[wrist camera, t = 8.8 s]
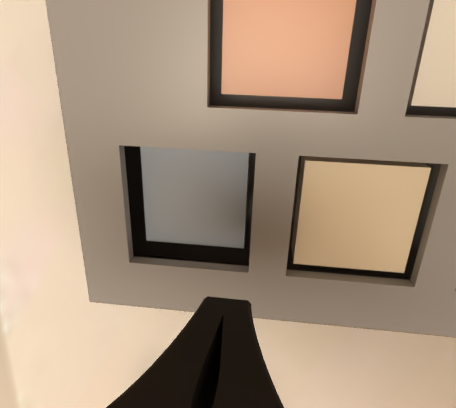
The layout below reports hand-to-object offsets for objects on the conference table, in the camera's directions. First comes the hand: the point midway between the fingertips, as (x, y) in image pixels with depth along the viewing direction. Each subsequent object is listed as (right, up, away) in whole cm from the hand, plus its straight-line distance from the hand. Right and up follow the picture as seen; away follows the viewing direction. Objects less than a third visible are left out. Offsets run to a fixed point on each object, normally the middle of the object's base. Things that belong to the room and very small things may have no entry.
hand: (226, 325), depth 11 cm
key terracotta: (+2, +10, +3) cm, 11 cm away
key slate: (-1, +4, +6) cm, 7 cm away
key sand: (+5, +4, +4) cm, 8 cm away
